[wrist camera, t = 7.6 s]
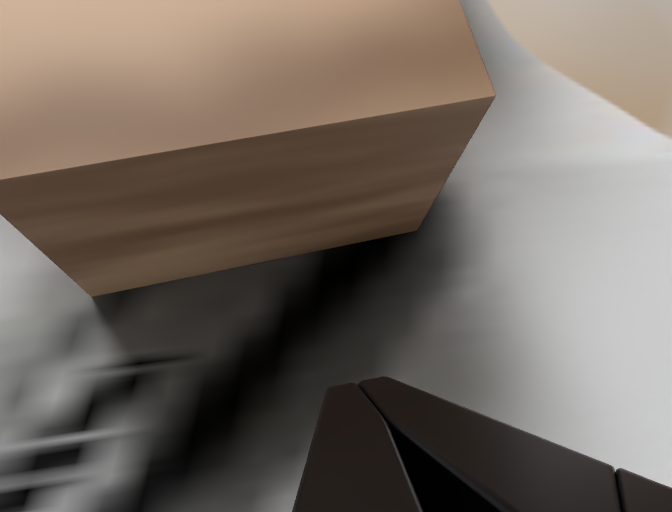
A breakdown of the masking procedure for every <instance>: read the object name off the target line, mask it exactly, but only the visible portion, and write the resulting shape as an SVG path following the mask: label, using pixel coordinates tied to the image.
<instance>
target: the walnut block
mask: <svg viewBox="0 0 672 512" xmlns="http://www.w3.org/2000/svg"><path fill="white" fill-rule="evenodd" d="M495 96H496V95H495V92H494V90H493V87H492V84H491V82H490V79H489V77H488V74H487V71H486V69H485V66H484V63H483V61H482V58H481V56H480V53H479V50H478V48H477V45H476V43H475V40H474V37H473V35H472V32H471V29H470V27H469V24H468V22H467V19H466V16H465V14H464V11H463V9H462V6H461V3H460V1H459V0H0V214H1V215H2V216H3V217H4V218H5V219H6V220H8V221H9V222H10V223H11V224H12V225H13V226H14V227H15V228H16V229H17V230H19V231H20V232H21V233H22V234H23V235H24V236H25V237H26V238H27V239H28V240H30V241H31V242H32V243H33V244H34V245H35V246H36V247H37V248H38V249H39V250H41V251H42V252H43V253H44V254H45V255H46V256H47V257H48V258H49V259H50V260H52V261H53V262H54V263H55V264H56V265H57V266H58V267H59V268H60V269H62V270H63V271H64V272H65V273H66V274H67V275H68V276H69V277H70V278H71V279H73V280H74V281H75V282H76V283H77V284H78V285H79V286H80V287H81V288H82V289H84V290H85V291H86V292H87V293H88V294H89V295H90V296H91V297H94V296H99V295H104V294H109V293H113V292H118V291H123V290H128V289H133V288H138V287H143V286H148V285H153V284H158V283H162V282H167V281H172V280H177V279H182V278H187V277H192V276H197V275H202V274H207V273H211V272H216V271H221V270H226V269H231V268H236V267H241V266H246V265H251V264H256V263H260V262H265V261H270V260H275V259H280V258H285V257H290V256H295V255H300V254H305V253H309V252H314V251H319V250H324V249H329V248H334V247H339V246H344V245H349V244H354V243H358V242H363V241H368V240H373V239H378V238H383V237H388V236H393V235H398V234H403V233H407V232H412V231H417V230H418V228H419V226H420V224H421V223H422V221H423V219H424V218H425V216H426V214H427V212H428V211H429V209H430V207H431V206H432V204H433V202H434V200H435V199H436V197H437V195H438V194H439V192H440V190H441V189H442V187H443V185H444V183H445V182H446V180H447V178H448V177H449V175H450V173H451V171H452V170H453V168H454V166H455V165H456V163H457V161H458V159H459V158H460V156H461V154H462V153H463V151H464V149H465V147H466V146H467V144H468V142H469V141H470V139H471V137H472V135H473V134H474V132H475V130H476V129H477V127H478V125H479V123H480V122H481V120H482V118H483V117H484V115H485V113H486V112H487V110H488V108H489V106H490V105H491V103H492V101H493V100H494V98H495Z"/></svg>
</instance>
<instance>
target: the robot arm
mask: <svg viewBox="0 0 672 512" xmlns="http://www.w3.org/2000/svg"><path fill="white" fill-rule="evenodd" d="M292 512H672V488H671V487H668V486H665V485H663V484H660V483H657V482H655V481H652V480H650V479H647V478H645V477H642V476H640V475H637V474H635V473H632V472H630V471H627V470H625V469H622V468H619V469H617V470H616V472H615V469H614V467H613V466H611V465H609V464H606V463H604V462H601V461H599V460H596V459H593V458H591V457H588V456H586V455H583V454H581V453H578V452H576V451H573V450H571V449H568V448H566V447H563V446H561V445H558V444H556V443H553V442H551V441H548V440H546V439H543V438H540V437H538V436H535V435H533V434H530V433H528V432H525V431H523V430H520V429H518V428H515V427H513V426H510V425H508V424H505V423H503V422H500V421H498V420H495V419H492V418H490V417H487V416H485V415H482V414H480V413H477V412H475V411H472V410H470V409H467V408H465V407H462V406H460V405H457V404H455V403H452V402H450V401H447V400H445V399H442V398H439V397H437V396H434V395H432V394H429V393H427V392H424V391H422V390H419V389H417V388H414V387H412V386H409V385H407V384H404V383H402V382H399V381H397V380H394V379H391V378H389V377H378V378H374V379H369V380H364V381H361V382H360V383H359V384H358V385H357V384H355V383H349V384H344V385H338V386H333V387H329V388H328V389H327V391H326V393H325V396H324V400H323V403H322V407H321V411H320V414H319V418H318V421H317V425H316V428H315V432H314V436H313V439H312V443H311V446H310V450H309V453H308V457H307V461H306V464H305V468H304V471H303V475H302V478H301V482H300V486H299V489H298V493H297V496H296V500H295V503H294V507H293V511H292Z"/></svg>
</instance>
